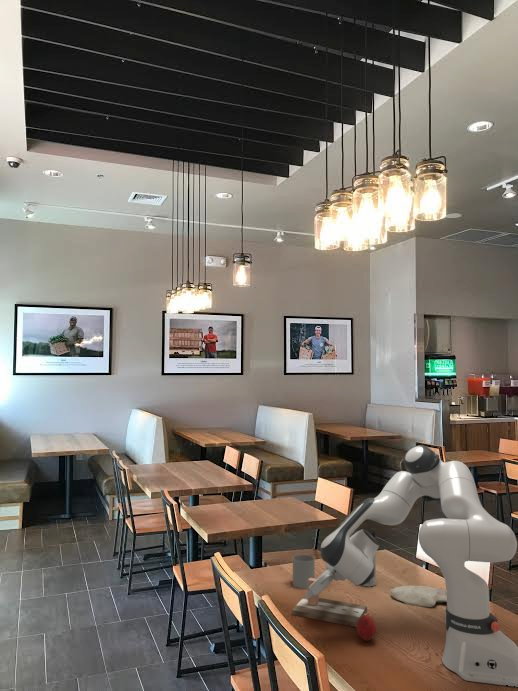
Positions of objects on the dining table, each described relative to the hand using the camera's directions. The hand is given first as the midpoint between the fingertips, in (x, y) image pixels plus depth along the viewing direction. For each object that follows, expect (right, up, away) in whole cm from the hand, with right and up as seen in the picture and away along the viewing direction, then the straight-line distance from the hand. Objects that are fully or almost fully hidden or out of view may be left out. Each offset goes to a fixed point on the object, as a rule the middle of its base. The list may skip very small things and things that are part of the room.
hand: (311, 591), depth 188 cm
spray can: (+24, -8, +24) cm, 35 cm away
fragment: (+40, -7, +8) cm, 42 cm away
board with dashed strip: (+6, -6, -3) cm, 9 cm away
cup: (-1, -8, +23) cm, 24 cm away
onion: (+14, -4, -23) cm, 28 cm away
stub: (+1, -4, -1) cm, 4 cm away
